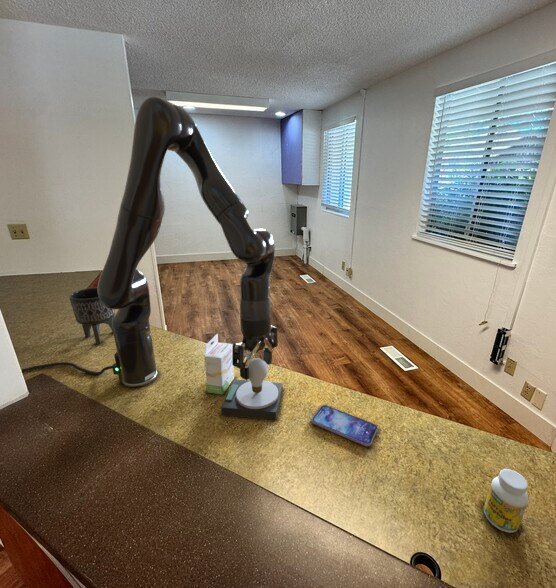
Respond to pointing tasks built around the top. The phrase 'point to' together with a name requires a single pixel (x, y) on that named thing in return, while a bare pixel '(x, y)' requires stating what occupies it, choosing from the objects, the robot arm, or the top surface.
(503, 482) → the supplement bottle
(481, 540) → the top surface
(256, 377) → the light bulb
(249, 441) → the top surface
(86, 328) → the planter
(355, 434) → the smartphone
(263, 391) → the kitchen scale
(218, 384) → the ink box
